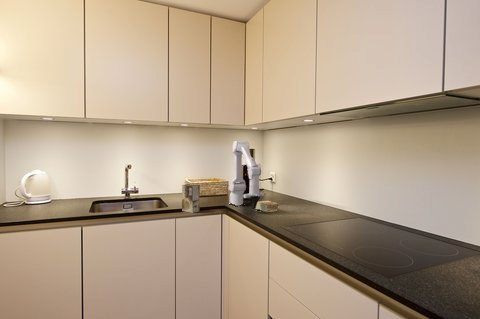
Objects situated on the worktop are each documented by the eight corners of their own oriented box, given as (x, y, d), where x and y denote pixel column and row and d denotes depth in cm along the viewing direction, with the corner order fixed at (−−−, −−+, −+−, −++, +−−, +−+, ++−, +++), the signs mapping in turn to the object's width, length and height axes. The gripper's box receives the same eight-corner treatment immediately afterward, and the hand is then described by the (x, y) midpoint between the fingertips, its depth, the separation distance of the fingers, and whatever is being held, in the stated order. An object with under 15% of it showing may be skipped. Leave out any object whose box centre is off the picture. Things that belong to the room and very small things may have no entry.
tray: (255, 209, 176) (255, 202, 175) (265, 208, 181) (265, 201, 181) (265, 212, 167) (265, 205, 167) (276, 211, 173) (276, 204, 172)
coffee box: (199, 211, 169) (200, 184, 169) (192, 213, 164) (192, 186, 163) (189, 209, 174) (189, 183, 174) (181, 210, 169) (181, 184, 168)
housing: (256, 209, 176) (256, 201, 176) (267, 208, 181) (267, 200, 181) (266, 213, 168) (266, 204, 168) (277, 211, 173) (277, 203, 173)
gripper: (248, 188, 160) (248, 211, 161) (267, 186, 169) (267, 208, 169) (241, 186, 166) (241, 209, 166) (260, 185, 175) (259, 206, 175)
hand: (253, 208), depth 168 cm, fingers closed
